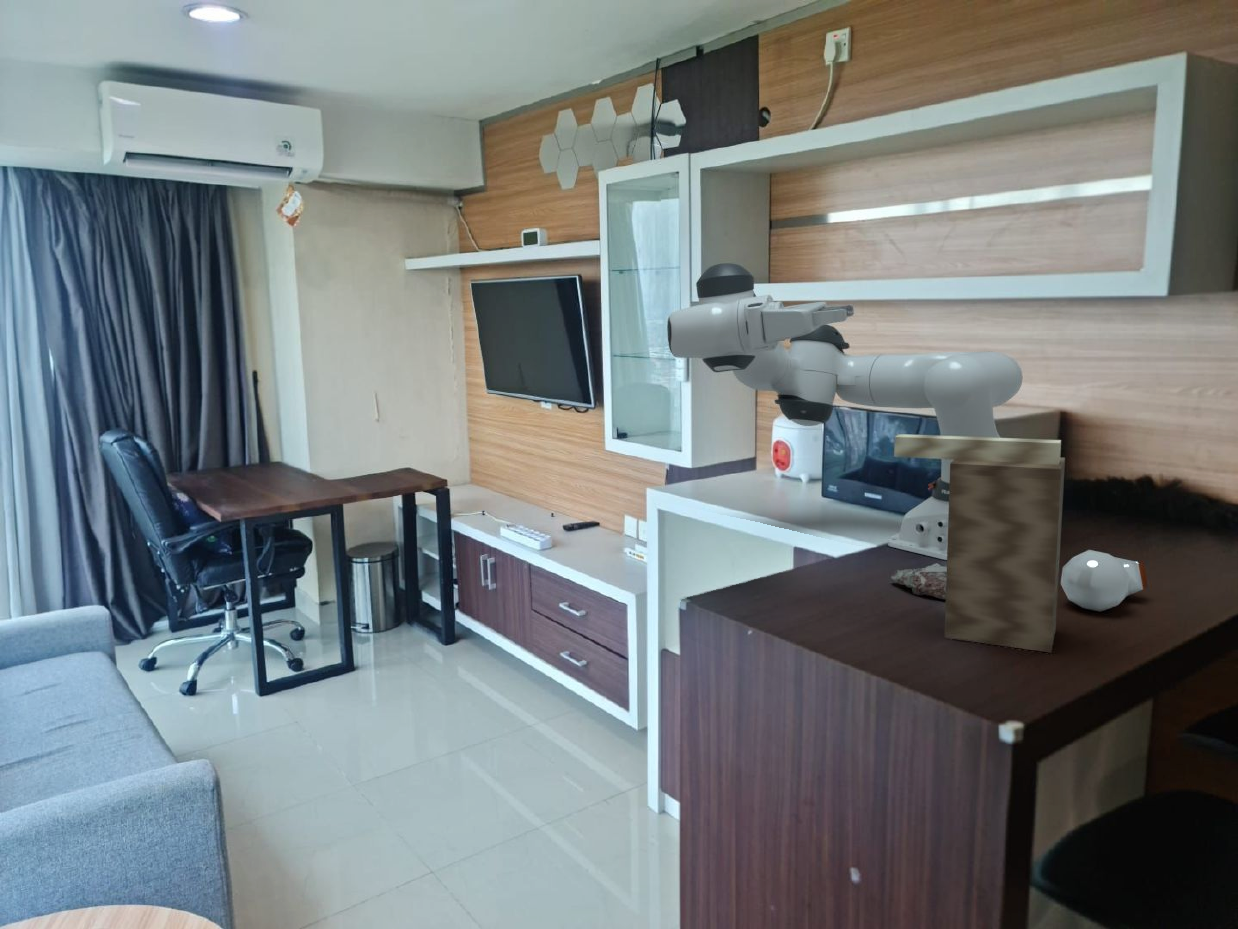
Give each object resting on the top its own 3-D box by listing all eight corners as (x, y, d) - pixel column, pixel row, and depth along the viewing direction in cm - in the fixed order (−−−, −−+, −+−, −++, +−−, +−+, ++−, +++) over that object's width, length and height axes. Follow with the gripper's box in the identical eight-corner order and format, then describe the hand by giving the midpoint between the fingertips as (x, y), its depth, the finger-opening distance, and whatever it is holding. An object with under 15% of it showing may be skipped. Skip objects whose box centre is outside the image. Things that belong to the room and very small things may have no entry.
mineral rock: (884, 586, 151) (885, 562, 150) (919, 579, 154) (919, 555, 154) (949, 611, 138) (950, 584, 137) (985, 602, 141) (986, 576, 141)
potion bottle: (1064, 622, 135) (1115, 613, 143) (1121, 599, 127) (1171, 591, 136) (1037, 567, 138) (1088, 561, 146) (1091, 542, 131) (1141, 538, 139)
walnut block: (944, 638, 126) (950, 463, 122) (955, 617, 134) (961, 452, 130) (1051, 654, 119) (1061, 469, 115) (1055, 630, 128) (1065, 457, 123)
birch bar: (894, 456, 129) (894, 436, 128) (898, 453, 131) (898, 434, 131) (1058, 464, 118) (1060, 443, 117) (1060, 461, 120) (1061, 440, 120)
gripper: (776, 336, 149) (858, 326, 144) (750, 349, 130) (843, 339, 125) (772, 299, 148) (855, 288, 142) (745, 308, 129) (839, 295, 124)
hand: (849, 312), depth 134 cm, fingers open, 8 cm apart
